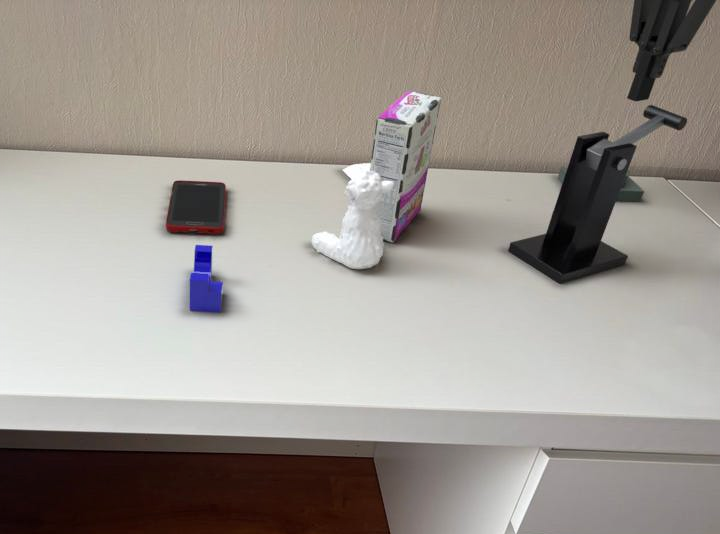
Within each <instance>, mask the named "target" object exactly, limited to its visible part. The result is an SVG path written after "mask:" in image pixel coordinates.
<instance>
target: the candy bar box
mask: <svg viewBox="0 0 720 534" xmlns="http://www.w3.org/2000/svg"><path fill="white" fill-rule="evenodd" d="M441 102H442V97H441V96H435V95H430V94H427V93H423V92H420V93H419V92H418V91H411V90H410V91H409V90H408V91H406V92H404V93H403V95H401V96H400V97H399V98H397V100H395V101H394V102H393V103H392V104H391V105H390V106H388V107H387V108H386V109H385V110H384V111H382V112H381V113H380V114H379V115H377V117H376V122H375V129H374V136H373V137H374V138H373V143H372V151H371V159H370V163H371V166H370V171H371V170H372V171H375V172H376V173H379V175H381V181H393V183H394V185H393V188H392V189H391V191H390V192H387V193H383V196H382V199H381V201H380V202H379V203H378V204H377V205H376V206H377V209H378V212H379V213H380V219H381V229H380V230H381V232H382V233H381V236H383V242H388V243H391V244H393V243H395V241H396V240H397V239H398V238H399V236H401V234H402V233H403V232H404V231H405V229H406V228H407V227H408V226H409V225H410V224H411V222H413V220H414V219H415V218H416V216H417V215H418V214H419V213H420V212H421V210H422V204H423V198H424V193H425V187H426V181H427V177H428V171H429V166H430V161H431V155H432V150H433V144H434V139H435V133H436V129H437V123H438V118H439V112H440V107H441Z"/></svg>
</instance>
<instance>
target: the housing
mask: <svg viewBox="0 0 720 534" xmlns="http://www.w3.org/2000/svg"><path fill="white" fill-rule="evenodd" d="M567 168H568V167H560V168H559V172H558V174H557V179H558V180H559V181H560V183H563V180H564V177H565V174H566V171H567ZM630 173H631V171H630V170H629V169H628V171H627V173H626V176H625V179H624V181H623V184H622V187H621V189H620V192H619V195H618V197H617V200H616V202H634V203H635V202H637V203H641V201H642V198H643V196H644V193H645V191H644V189H643V188H642V187H640V186H639V184H637V183H636V182H635V181H634V180H633V179H632V178H631V177H630Z"/></svg>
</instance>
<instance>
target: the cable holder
mask: <svg viewBox="0 0 720 534" xmlns="http://www.w3.org/2000/svg"><path fill="white" fill-rule="evenodd" d="M213 247H214V246H213V245H207V244H206V245H205V244H195V246H194V257H193V258H194V260H193V272H190V277H189V311H193V312H195V311H196V312H210V313H212V312H213V313H221V312H222V304H223V292H224V290H223V289H224V282H223V281H212V276H213Z"/></svg>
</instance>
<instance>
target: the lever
mask: <svg viewBox="0 0 720 534" xmlns="http://www.w3.org/2000/svg"><path fill="white" fill-rule="evenodd" d="M642 115H643V118H645V119H648V120H647V121H645V122H644V123H642V124H641V125H639V126H637V127H635V128H634V129H632V130H631V131H628V132H627V133H626V134H624V135H622V136H620V137H619V138H617V139H616V140H614V141H611V140H609V139H608V140H606V139H603V140H601V141H600V142H598V143H596V144H595V145H593V146H591V147H590V148H588V149H587V153H586V166H587V167H589V168H591V169H593V170H595V171H597V168H598V165H599V163H600V160H601V157H602V154H603V151H604V148H608V147H613V146H618V145H623V144H628V143H631V144H633V145H634V144H635V143H636V142H638V141H639V140H641V139H643V138H645V137H646V136H648V135H649V134H651V133H653V132H655V131H656V130H658V129H659V128H661V127H663V126H666V127H669V128H670V129H674V130H676V131H682V130H683V129H685V127H686V126H687V123H688V118H687V117H685V116H683V115H679V114H677V113H674V112H672V111H669V110H666V109H663V108H661V107H658V106H656V105H654V104H648V105H647V106H646V107H645V108H644V111H643V113H642Z"/></svg>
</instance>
